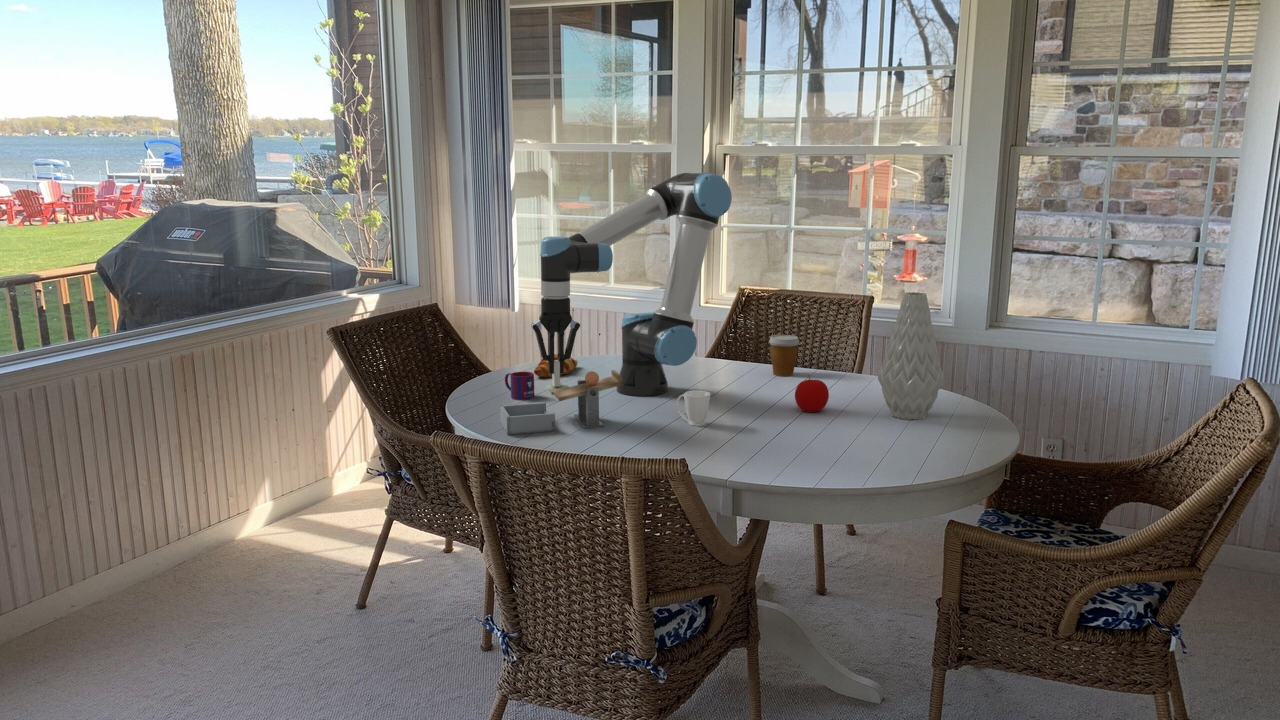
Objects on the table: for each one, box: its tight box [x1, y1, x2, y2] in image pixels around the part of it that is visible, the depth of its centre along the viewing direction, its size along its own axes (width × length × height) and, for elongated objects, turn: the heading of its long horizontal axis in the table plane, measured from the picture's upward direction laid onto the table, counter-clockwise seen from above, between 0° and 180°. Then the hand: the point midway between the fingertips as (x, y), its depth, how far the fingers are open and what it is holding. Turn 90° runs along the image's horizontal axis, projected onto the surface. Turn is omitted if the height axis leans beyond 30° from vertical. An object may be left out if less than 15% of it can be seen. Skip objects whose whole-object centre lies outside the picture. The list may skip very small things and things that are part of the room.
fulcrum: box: [573, 379, 605, 429], centre depth 248 cm, size 5×12×10 cm, turn 17°
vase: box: [877, 291, 944, 420], centre depth 250 cm, size 17×17×33 cm
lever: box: [545, 369, 623, 402], centre depth 250 cm, size 18×14×3 cm
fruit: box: [794, 374, 830, 413], centre depth 258 cm, size 9×9×10 cm
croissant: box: [533, 353, 579, 378], centre depth 305 cm, size 21×10×8 cm, turn 148°
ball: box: [584, 370, 600, 385], centre depth 247 cm, size 4×4×4 cm
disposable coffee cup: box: [768, 334, 800, 377], centre depth 302 cm, size 10×10×12 cm
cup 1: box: [504, 371, 535, 401], centre depth 275 cm, size 7×10×7 cm
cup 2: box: [675, 389, 712, 427], centre depth 247 cm, size 7×10×8 cm
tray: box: [499, 401, 556, 436], centre depth 244 cm, size 12×12×4 cm
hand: (556, 385), depth 252 cm, fingers closed
